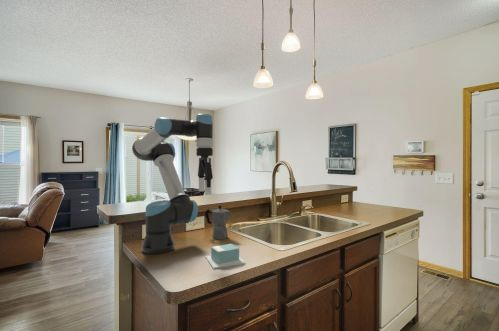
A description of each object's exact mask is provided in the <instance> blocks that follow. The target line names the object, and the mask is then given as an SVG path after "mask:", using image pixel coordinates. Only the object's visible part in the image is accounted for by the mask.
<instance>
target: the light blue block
mask: <svg viewBox="0 0 499 331" xmlns="http://www.w3.org/2000/svg"><path fill="white" fill-rule="evenodd" d="M210 253H211V254H210V255H211V259H212V260H214V261H215V262H216V263H217V264H222V263H226V262H231V261H235V260H239V257H240V248H239V247H238V246H236V245H235V244H233V243H228V244H227V243H226V244H222V245H216V246H215V245H214V246H211V248H210Z"/></svg>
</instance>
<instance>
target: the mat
mask: <svg viewBox="0 0 499 331" xmlns="http://www.w3.org/2000/svg"><path fill="white" fill-rule="evenodd" d="M205 259H206V260H207V262H208V263H209V266H210V267H211V268H212V269H213V270H216V269H221V268H229V267H234V266H235V267H236V266H240V265H241V266H242V265H246V261H244V260H243V258H241V257H240V256H239V260H235V261H231V262H226V263H222V264H217V263H216V262H215V261H214V260H212V259H211V254H209V255H205Z"/></svg>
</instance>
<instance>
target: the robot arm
mask: <svg viewBox="0 0 499 331" xmlns="http://www.w3.org/2000/svg"><path fill="white" fill-rule="evenodd" d="M213 124H214V123H213V116H212V115H211V114H209V113H198V114H196V116H195V120H189V119H188V120H187V119H178V118H172V117H171V118H170V117H158V118H156V120H155V122H154V127H153V128H152V129H151V130H150V131H149V132H147V133H146V134H145V135H144V136H143V137H140V138H137V139H136V140H135V141H134V142H133V143H132V147H131V150H132V153H133V155H134V156H135V158H137V159H139V160H140V161H146V162H151V161H152V162H153V164H154V166H155V167H158V170H159V173H160V176H161V179H162V182H163V184H164V185H163V186H164V187H165V189H166V194H167V195H168V198H169V200H168V199H165V200H157V201H153V202H150V203H148V204H147V205H145V206H146V207H145V212H144V216H145V236H144V240H143V242H142V245H141V252H142V253H144V254H147V255H158V254H159V255H160V254H164V253H169V252H170V251H172V250H174V249H175V242H174V238H173V236H172V232H171V227H172V226H177V225H184V224H189V223H192V222H194V221H195V220H196V219H197V217H198V214H199V206H198V203H197V201H196V200H195V199H191V198H190V195H189V194H186V193H185V191H184V188H183V185H182V182H181V181H180V176H179V175H178V172H177V170H176V167H175V164H174V161H175V157H176V149H175V146H174V145H173V143H172V142H170V141H166V140H167V139H168V138H169V137H171V136H182V137H183V136H184V137H188V138H189V137H190V138H192V137H196V138H195V140H194V141H195V143H196V147H197V148H196V156H197V157H199V158H198V169H197V177H198V192H204V196H207V195H211V196H212V179H213V170H212V158H211V157H213V156H214V155H213V154H214V149H213V146H214V140H213V136H214V135H213V132H214V130H213V129H214V128H213V126H214V125H213Z"/></svg>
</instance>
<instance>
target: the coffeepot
mask: <svg viewBox="0 0 499 331" xmlns="http://www.w3.org/2000/svg"><path fill="white" fill-rule="evenodd" d="M231 213H232V211H231V210H228V209H224V208H222V205H218V208H217V209H209V208H208V209H206V211H205V212H204V216H205V218H206V221H207V224H210V225H211V224H212V221H213V228H212V234H211V237H212V239H215V240H224V239H226V238H228V236H229V235H228V231H227V230H228V229H227V224H226V223H227V219H228V217H229V216H230V214H231ZM209 214H211V215H212V219H213V220H212V221H210V216H209Z"/></svg>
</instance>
